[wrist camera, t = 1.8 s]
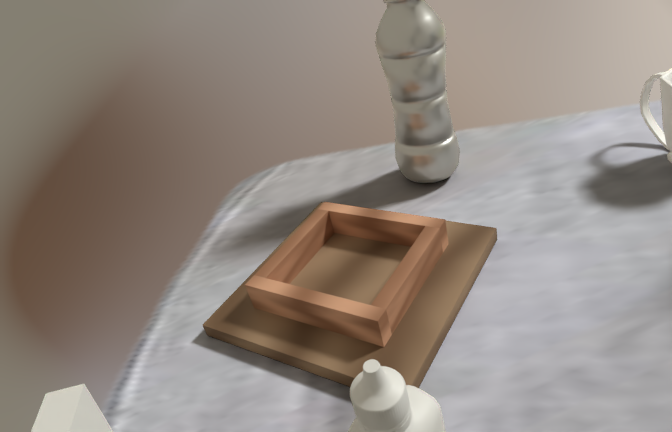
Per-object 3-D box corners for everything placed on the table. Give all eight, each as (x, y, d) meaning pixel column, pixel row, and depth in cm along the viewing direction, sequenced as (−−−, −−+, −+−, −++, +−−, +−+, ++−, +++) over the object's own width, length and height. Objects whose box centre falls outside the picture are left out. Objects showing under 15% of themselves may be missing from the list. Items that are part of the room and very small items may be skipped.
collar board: (497, 239, 46) (494, 203, 44) (408, 407, 34) (399, 369, 32) (323, 211, 55) (315, 181, 53) (207, 335, 44) (191, 302, 42)
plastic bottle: (434, 198, 53) (405, -14, 42) (386, 180, 58) (349, -14, 47) (475, 168, 56) (457, -37, 45) (425, 154, 61) (399, -34, 50)
